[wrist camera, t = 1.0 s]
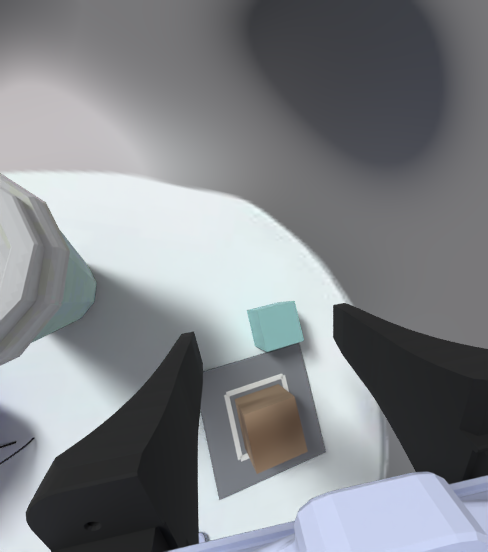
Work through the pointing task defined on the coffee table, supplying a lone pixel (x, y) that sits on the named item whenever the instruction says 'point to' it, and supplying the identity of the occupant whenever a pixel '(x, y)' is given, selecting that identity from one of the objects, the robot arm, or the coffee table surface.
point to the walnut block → (270, 427)
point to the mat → (225, 423)
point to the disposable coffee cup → (36, 273)
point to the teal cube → (275, 325)
